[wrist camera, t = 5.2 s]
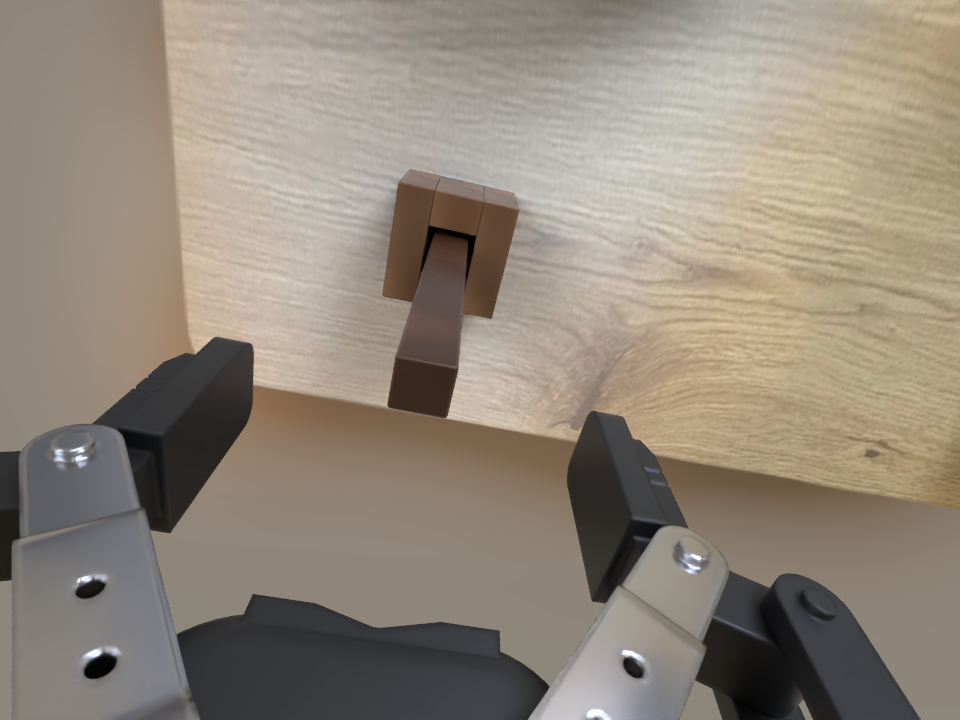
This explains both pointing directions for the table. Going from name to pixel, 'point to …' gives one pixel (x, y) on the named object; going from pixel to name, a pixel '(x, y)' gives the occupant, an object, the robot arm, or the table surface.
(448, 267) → the stirring stick
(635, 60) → the table surface
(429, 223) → the stick stand
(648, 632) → the robot arm
